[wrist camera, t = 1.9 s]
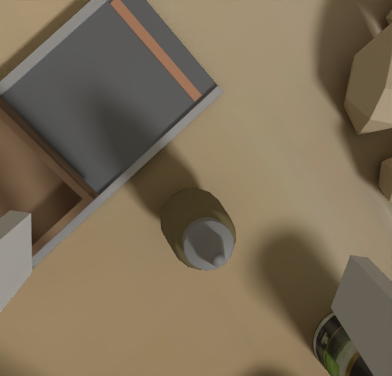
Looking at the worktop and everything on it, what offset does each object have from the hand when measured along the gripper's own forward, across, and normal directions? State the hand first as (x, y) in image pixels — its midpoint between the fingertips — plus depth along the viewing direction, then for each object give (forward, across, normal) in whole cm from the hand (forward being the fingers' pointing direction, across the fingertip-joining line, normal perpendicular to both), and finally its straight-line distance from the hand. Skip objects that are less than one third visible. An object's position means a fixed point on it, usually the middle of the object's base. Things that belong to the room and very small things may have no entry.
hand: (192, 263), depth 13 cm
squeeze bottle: (+27, -2, +10) cm, 29 cm away
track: (+28, +15, +3) cm, 32 cm away
